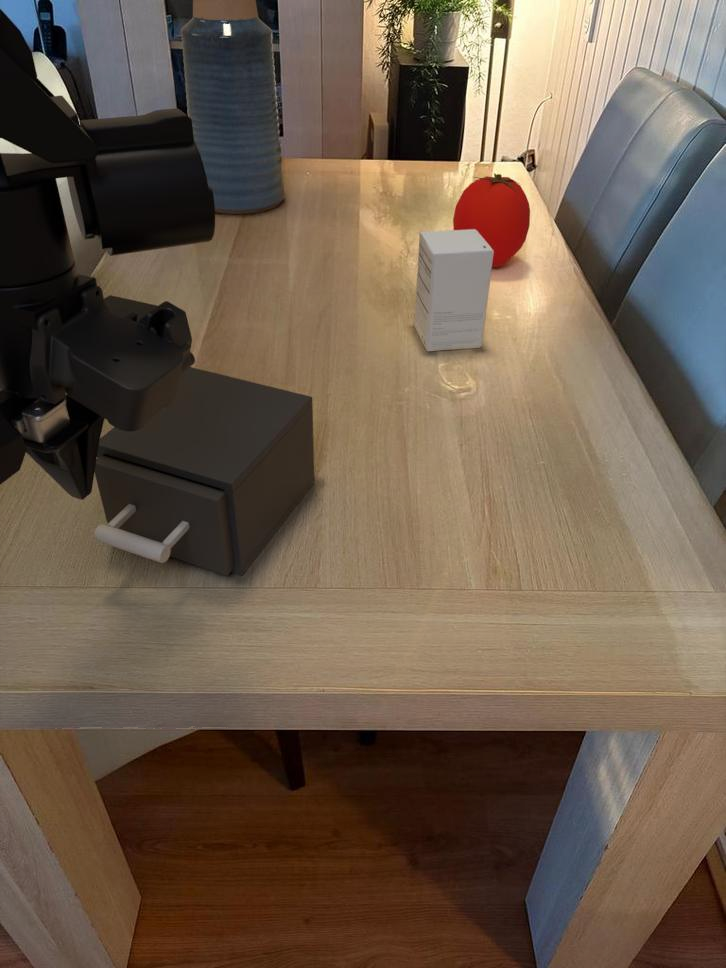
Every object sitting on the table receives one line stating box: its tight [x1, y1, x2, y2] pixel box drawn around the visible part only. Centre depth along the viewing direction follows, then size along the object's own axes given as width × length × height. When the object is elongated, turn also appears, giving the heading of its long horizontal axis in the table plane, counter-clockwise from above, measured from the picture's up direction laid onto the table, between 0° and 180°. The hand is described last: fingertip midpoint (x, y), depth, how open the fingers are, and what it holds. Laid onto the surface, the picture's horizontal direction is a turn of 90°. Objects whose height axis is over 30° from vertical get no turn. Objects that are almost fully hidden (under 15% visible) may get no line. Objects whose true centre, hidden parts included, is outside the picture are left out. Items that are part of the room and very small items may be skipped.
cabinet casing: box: [97, 366, 315, 577], centre depth 65 cm, size 14×13×10 cm
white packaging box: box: [413, 229, 494, 352], centre depth 91 cm, size 7×7×13 cm
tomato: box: [452, 172, 531, 268], centre depth 111 cm, size 12×12×13 cm
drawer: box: [93, 455, 234, 576], centre depth 62 cm, size 17×11×8 cm
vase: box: [180, 0, 286, 215], centre depth 126 cm, size 16×16×32 cm
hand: (81, 495), depth 49 cm, fingers closed
